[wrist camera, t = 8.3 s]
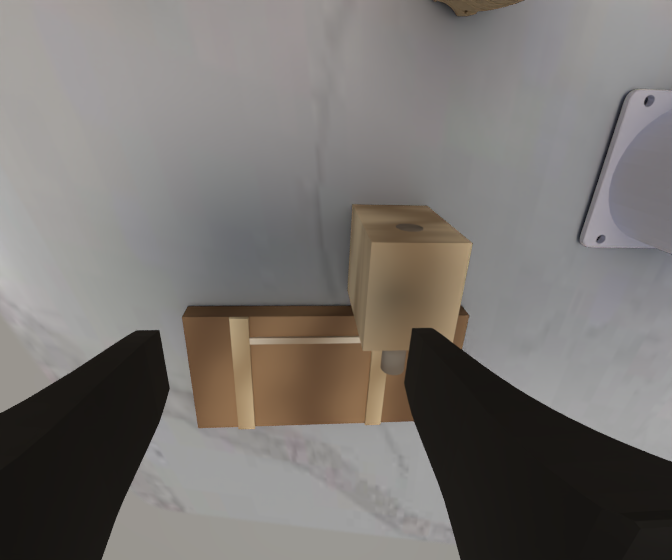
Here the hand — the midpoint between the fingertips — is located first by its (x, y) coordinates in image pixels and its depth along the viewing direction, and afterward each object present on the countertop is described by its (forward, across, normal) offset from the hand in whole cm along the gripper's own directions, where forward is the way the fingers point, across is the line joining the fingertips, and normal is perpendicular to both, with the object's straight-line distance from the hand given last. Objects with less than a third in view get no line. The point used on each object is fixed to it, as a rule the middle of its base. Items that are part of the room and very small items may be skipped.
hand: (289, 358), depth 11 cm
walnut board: (+10, -2, +8) cm, 13 cm away
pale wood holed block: (+10, -5, +2) cm, 12 cm away
